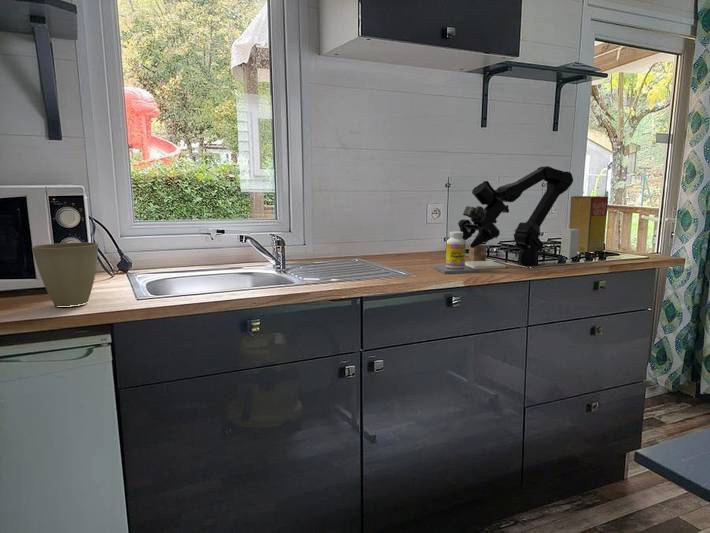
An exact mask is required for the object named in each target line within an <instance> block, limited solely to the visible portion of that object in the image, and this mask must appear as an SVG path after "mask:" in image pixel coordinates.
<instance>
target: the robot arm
mask: <svg viewBox="0 0 710 533" xmlns="http://www.w3.org/2000/svg"><path fill="white" fill-rule="evenodd" d="M542 181H544V182H546V190H545V192H544V194H543V196H542V197H541V198H540V201H539V202H538V204H537V205H536V207H535V209H534V210H533V212H532V214H531V215H530V217H529V218H528V220H526V221H525V222H519V223H518V225H517V227H516V228H515V229H514V234H513V240H514V242H515V244H516V248H519V251H518V253H517V262H516V264H519V265H520V266H525V267H529V266H531V267H533V266H541V263H539V257H540V256H539V254H540V251H541V250H542V249H543V246H544V243H543V242H542V240H541V239H540V238H539V236H540V233H541V232H540V231H541V226H542V224H543V222H544V221H545V219H546V217H547V215H548V214H549V213H550V211H551V209H552V207H553V206H554V204H555V202H557V199H558V198H559V196H561V195H562V194H563V193H565V192H566V191H568V189H569V188H570V187H571V186H572V184H573V183H574V178H573V174H572V173H571V172H569V171H564V170H560V169H556V168H553V167H551V166H548V165H547V166H545V165H544V166H539V167H538V168H537V169H535V170H534V171H532V172H530V173H528V174H527V175H525V176H523V177H521V178H520V179H518V180H516V181H514V182H511V183H508V184H504V185H501V186H499V187H497V188H496V189H494V188H493V186H492V185H491V183H490V182H489V181H488V180H484V181H483V182H482V183H480V184H478V185H477V186H474V188H473V189H472V191H471V193H472V195H473V196H474V197H475V199H477V201H478V202H479V203H480V204H481V205H483V206H484V205H485V207H483V206H480V205H477V206H468V205H467V206H465V209H464V211H463V213H462V215H463V216H465V217H468V218H469V219H463V218H462V219H460V220H459V221H458V223H457V225H458V227H459V232H463V236H462V238H463V239H464V240H465V241H467V240H469V239H470V238H471V237H473V235H474V234H475V233H476V231H477V232H478V233H477V235H475V238H474V239H473V240H472V242H471V243H470V244H471V245H470V247H471V248H473V247H476V246H478V245H480V244H484V243H486V242H489V241H491V240H493V239H497V238H498V237H499V236H500V234H501V233H500V232H501V231H500V229H499V228H498V227H497V226H496V225H495V224H496V223H498V221H497V219H498V217H499V216H500V215H501V214H502V213H504V214H505V213H506V214H507V213H510V209H509V205H506V204H505V203H514V202H515V201H517V200H518V199H519V198H520V197H521V196H522V194H523V192H525V191H527V190H528V189H530V188H532V187H534V186H535V185H537V184H538V183H540V182H542Z"/></svg>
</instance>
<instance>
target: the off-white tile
mask: <svg viewBox="0 0 710 533" xmlns="http://www.w3.org/2000/svg"><path fill="white" fill-rule="evenodd" d="M465 265H466V266H469V267H472V268H474V269H477V270H486V269H487V270H488V269H505V268H506V264H503V263H500V262H497V261H493V260H486V261H469V260H468V261H466V260H465Z"/></svg>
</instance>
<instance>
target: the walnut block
mask: <svg viewBox="0 0 710 533" xmlns="http://www.w3.org/2000/svg"><path fill="white" fill-rule="evenodd" d="M470 245H471V243H469V244H468V261H487V244H484V243H482V244H480V245H478V246H476V247H473V248H471V247H470Z"/></svg>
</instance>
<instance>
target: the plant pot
mask: <svg viewBox="0 0 710 533" xmlns="http://www.w3.org/2000/svg"><path fill="white" fill-rule="evenodd" d="M31 250H32V254H33V256H34V260H35V264H36V267H37V271H38V273H39V275H40V278H41V280H42V283H43V285H44V288H45V290H46V291H47V294H48V296H49V298H50V300H51V301H52V303H53V305H54V306H55V305H56V306H70V305H78V304H83V303H86V302H89V299H90V296H91V293H92V289H93V286H94V281H95V276H96V270H97V266H98V265H97V264H98V256H99V243H97V242H60V243H47V244H46V243H45V244H39V245H38V244H37V245H33V246H31Z"/></svg>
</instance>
